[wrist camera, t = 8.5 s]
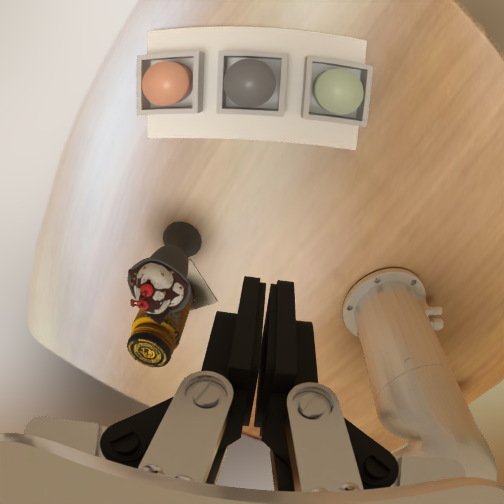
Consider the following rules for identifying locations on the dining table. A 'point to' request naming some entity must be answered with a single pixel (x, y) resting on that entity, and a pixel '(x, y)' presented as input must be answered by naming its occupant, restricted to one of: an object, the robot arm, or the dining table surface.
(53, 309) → the dining table surface
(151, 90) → the terracotta button
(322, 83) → the sage button
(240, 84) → the charcoal button
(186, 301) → the sundae
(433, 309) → the robot arm
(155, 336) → the condiment
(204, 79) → the panel
